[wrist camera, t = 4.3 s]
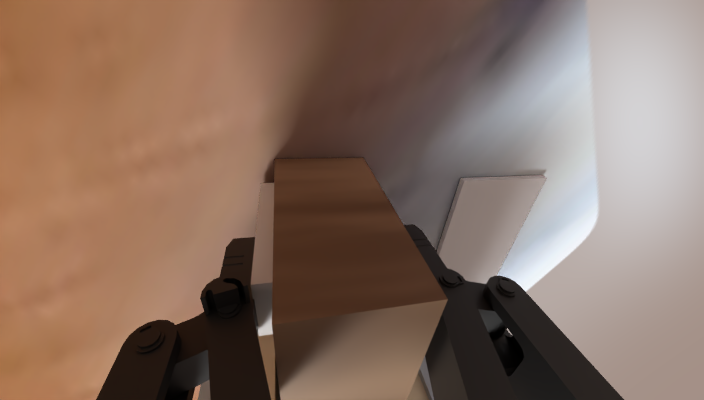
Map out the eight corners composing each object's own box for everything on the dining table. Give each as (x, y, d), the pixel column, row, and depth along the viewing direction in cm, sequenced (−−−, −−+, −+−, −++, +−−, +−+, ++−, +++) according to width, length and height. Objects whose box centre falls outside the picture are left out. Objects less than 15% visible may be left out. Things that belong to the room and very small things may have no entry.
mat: (460, 177, 17) (464, 181, 17) (542, 175, 18) (546, 178, 18) (421, 297, 23) (423, 301, 23) (485, 288, 24) (488, 291, 24)
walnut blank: (274, 158, 14) (271, 325, 6) (363, 157, 15) (447, 299, 7) (286, 328, 21) (291, 494, 14) (344, 319, 22) (378, 470, 15)
